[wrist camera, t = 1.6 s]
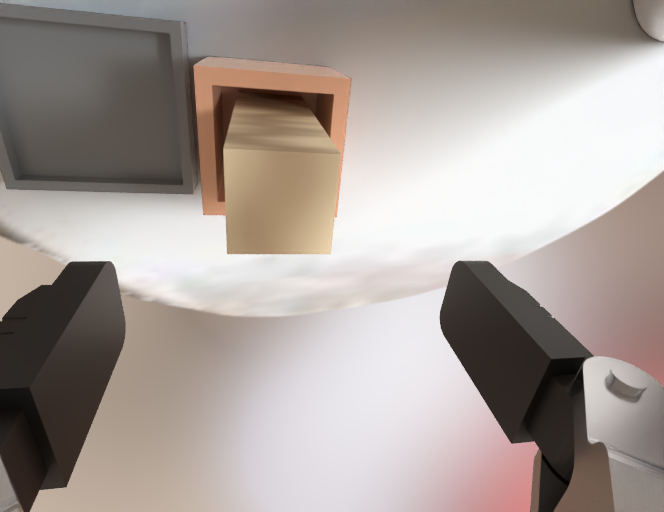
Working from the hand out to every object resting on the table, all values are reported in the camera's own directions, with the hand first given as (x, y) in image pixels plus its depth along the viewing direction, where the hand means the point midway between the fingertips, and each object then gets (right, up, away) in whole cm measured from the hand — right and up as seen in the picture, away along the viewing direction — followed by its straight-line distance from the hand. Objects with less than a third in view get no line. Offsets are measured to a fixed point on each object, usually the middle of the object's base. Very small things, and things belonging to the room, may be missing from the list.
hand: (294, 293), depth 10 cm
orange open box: (-3, +10, +18) cm, 21 cm away
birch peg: (-3, +10, +17) cm, 20 cm away
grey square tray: (-14, +10, +15) cm, 23 cm away
